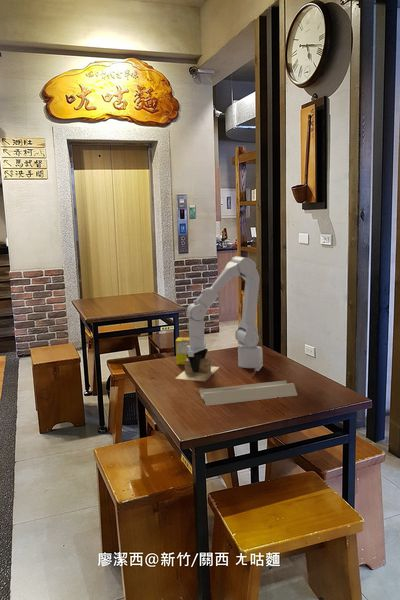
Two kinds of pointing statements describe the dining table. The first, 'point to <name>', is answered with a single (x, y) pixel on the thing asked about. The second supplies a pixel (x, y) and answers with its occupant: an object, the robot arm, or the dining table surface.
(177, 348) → the supplement box
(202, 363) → the block
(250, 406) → the dining table surface
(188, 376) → the birch board
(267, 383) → the crown molding
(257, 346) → the robot arm
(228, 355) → the dining table surface
